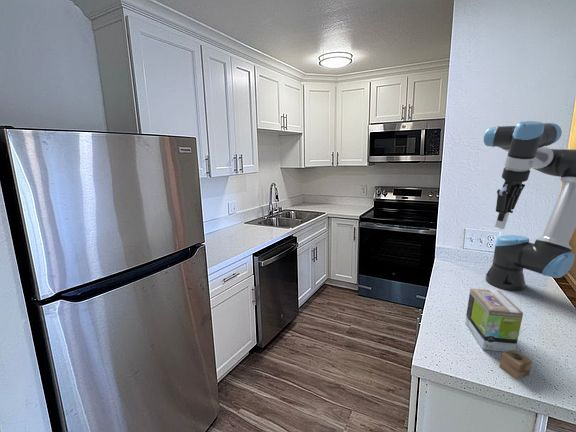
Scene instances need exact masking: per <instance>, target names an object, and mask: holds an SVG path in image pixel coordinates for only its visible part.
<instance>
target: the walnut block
mask: <svg viewBox="0 0 576 432" xmlns="http://www.w3.org/2000/svg"><path fill="white" fill-rule="evenodd" d="M500 357H501V358H500V363H499V368H501V370H503V371H505V372H506V373H507V374H509V376H511V377H513V378H514V379H515V380H519V379H522V378H524V377H527V376H529V375H530V371H531V367H532V364H533V363H532V361H533V360H531V359H530V358H529V357H527V356H525V355H524V354H522V353H521V352H519V351H517V350H516V349H514V350H511V351H508V352H502V353H501V356H500Z"/></svg>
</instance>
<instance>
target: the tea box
mask: <svg viewBox="0 0 576 432" xmlns="http://www.w3.org/2000/svg"><path fill="white" fill-rule="evenodd" d="M467 302H468V303H467V309H466V314H465V320H464V321H465V322H464V323H465V325H466V326H467V328H468V329H469V331H470V332H471V334H472V335H473V337H474V338H475V341H477V343H478V344H479V346H480V347H481V349H482V350H486V351H494V352H502V353H504V352H508V351H511V350H514V349H515V350H516V348H517V345H518V340H519V335H520V330H521V326H522V321H523V317H524V312H523V311H522V310H521V309H520V308H519V307H518V306H517V305H515V304H514V303H513V302H512V301H511V300H510V298H508V297H507V296H506V295H505V294H504V293H502V291H501V290H497V289H496V290H495V289H485V288H483V289H482V288H481V289H480V288H472V287H471V288H470V289H469V295H468V301H467Z"/></svg>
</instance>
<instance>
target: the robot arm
mask: <svg viewBox="0 0 576 432" xmlns="http://www.w3.org/2000/svg"><path fill="white" fill-rule="evenodd" d="M562 132H563V131H562V128H561V127H560V125H559V124H556V123H553V122H549V123H548V122H547V123H545V122H541V121H533V120H532V121H531V120H530V121H520V122H518V123H517V124H516V125H505V126H504V125H502V126H499V125H497V126H492V127H489V128H487V129H486V131H485V132H484V135H483V143H484V145H485V146H486V147H493V148H494V147H497V148H499V149H502V150H503V151H506V152H507V156H506V159H505V162H504V168H503V169H502V173H501V178H502V179H503V180H504V183H503V184H502V188H501V189H500V188H499V189H497V191H496V194H497V198H496V206H495V212H496V213H498V215H497V219H496V221H495V225H494V227H495V228H497V229H500V230H505V227H506V225H507V221H508V217H509V215H510V214H513V213H514V211H513V210H515V207H516V204H517V203H518V200H519V199H520V197H521V194H522V193H523V190H524V188H525V187H526V184H525V183H524V182H527V181H528V180H529V177H530V173H531V169H533V170H535V171H537V172H539V173H542V174H545V175H549V176H552V177H559V178H560V181H561V182H562V183H563V184H562V187H561V189H560V191H559V194H558V197H557V199H556V202H555V204H554V206H553V209H552V211H551V214H550V216H549V218H548V221H547V224H546V226H545V229H544V231H543V233H542V236H541V237H538V238H536V239H535V241H534V243H532V242H530V239H529V237H526V236H522V235H516V234H515V235H513V234H511V235H510V234H508V235H507V234H506V235H500V236H498V237H497V238H496V241H495V245H494V253H493V259H492V264H491V266H490V268H489V269H488V271H487V272H486V274H485V281H486V282H487V283H488V284H489V285H491V286H493V287H496V288H499V289H503V290H506V291H507V290H508V291H515V292H516V291H523V290H524V289H525V287H526V281H525V275H524V269H525V270H528V271H531V272H534V273H538V274H540V275H542V276H545V277H551V278H552V279H553V278H554V279H558V278H559V279H560V278H562V277H564V276H565V275H566V274H567V273H568V272H569V271H570V270H571V269H572V266H573V265H574V262H575V258H576V257H575V254H574V253H572V247H571V246H570V241H571V238H573V237H572V236H573V234H574V232H575V229H576V149H565V148H564V149H563V148H561V149H560V148H559V149H558V148H550V147H548V146H550V145H552V144H555V143H557V142H558V141H559V140H560V138H561V137H562V134H563V133H562Z"/></svg>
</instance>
